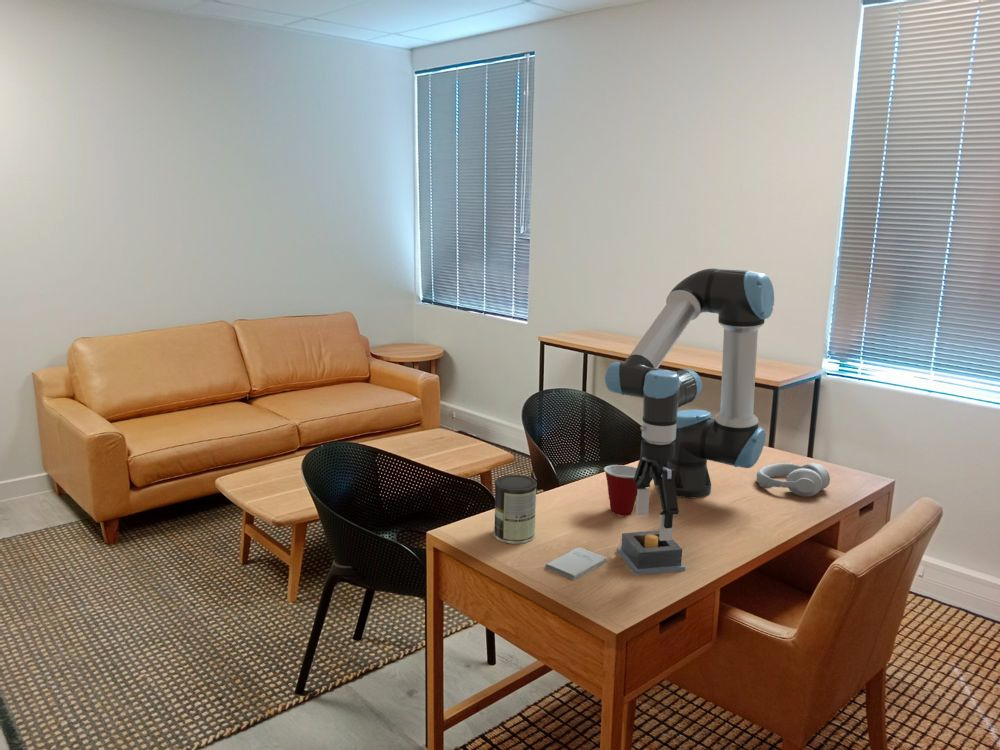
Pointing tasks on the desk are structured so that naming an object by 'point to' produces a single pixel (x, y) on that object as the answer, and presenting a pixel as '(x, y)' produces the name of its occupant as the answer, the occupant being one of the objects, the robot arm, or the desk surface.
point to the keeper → (649, 543)
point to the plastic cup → (621, 488)
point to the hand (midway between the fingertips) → (653, 526)
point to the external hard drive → (576, 563)
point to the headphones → (795, 477)
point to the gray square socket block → (650, 551)
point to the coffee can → (515, 508)
